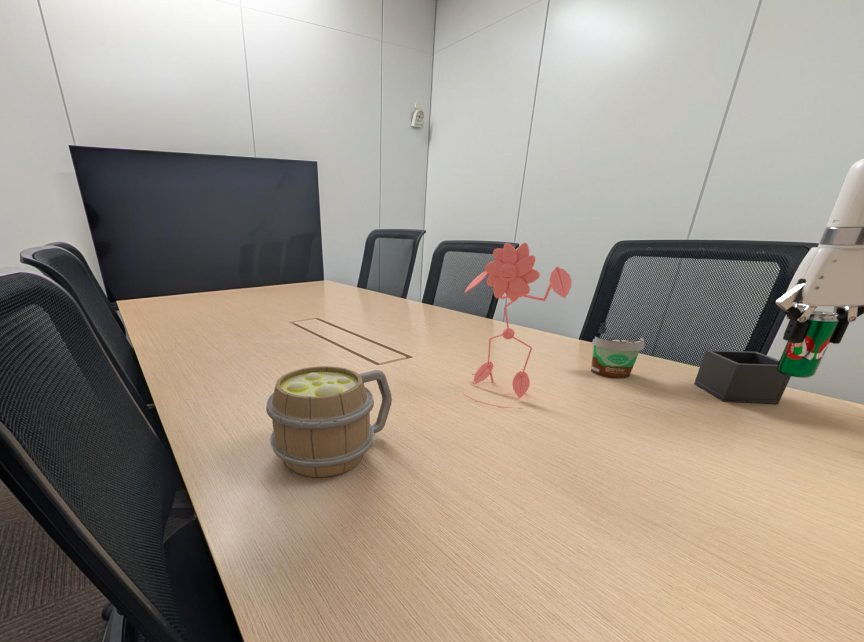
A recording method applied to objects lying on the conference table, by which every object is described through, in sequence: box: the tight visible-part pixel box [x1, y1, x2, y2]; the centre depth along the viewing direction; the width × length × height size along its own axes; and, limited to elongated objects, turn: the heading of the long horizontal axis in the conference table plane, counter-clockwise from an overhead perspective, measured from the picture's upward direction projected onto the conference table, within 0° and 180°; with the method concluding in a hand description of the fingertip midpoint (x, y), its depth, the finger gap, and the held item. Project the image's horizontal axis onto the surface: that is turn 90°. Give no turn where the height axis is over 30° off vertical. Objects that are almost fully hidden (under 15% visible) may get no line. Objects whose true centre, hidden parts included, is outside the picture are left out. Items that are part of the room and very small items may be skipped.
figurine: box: [463, 242, 572, 410], centre depth 86 cm, size 15×26×35 cm, turn 36°
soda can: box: [776, 310, 840, 379], centre depth 71 cm, size 5×5×12 cm
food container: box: [590, 336, 645, 379], centre depth 100 cm, size 12×6×10 cm, turn 81°
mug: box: [265, 365, 393, 478], centre depth 68 cm, size 19×25×15 cm
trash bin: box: [694, 349, 792, 405], centre depth 87 cm, size 11×11×9 cm
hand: (810, 340), depth 70 cm, fingers closed on soda can, 5 cm apart
